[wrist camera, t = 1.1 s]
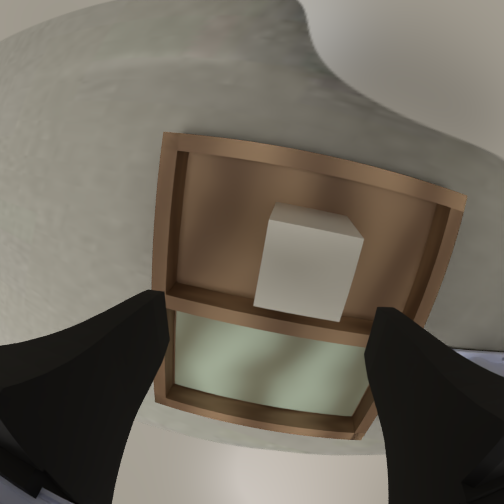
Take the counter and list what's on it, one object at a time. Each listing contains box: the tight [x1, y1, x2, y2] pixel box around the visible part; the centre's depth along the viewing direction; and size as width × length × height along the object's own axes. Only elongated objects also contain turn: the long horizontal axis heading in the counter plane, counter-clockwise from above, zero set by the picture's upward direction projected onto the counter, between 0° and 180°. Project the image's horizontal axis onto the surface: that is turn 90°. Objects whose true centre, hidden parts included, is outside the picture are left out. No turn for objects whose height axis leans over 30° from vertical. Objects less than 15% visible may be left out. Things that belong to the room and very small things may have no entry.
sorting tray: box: [152, 132, 467, 440], centre depth 20 cm, size 18×21×3 cm
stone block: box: [253, 202, 364, 322], centre depth 16 cm, size 4×4×5 cm
